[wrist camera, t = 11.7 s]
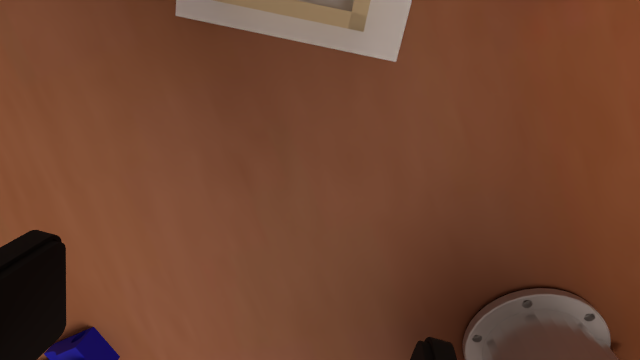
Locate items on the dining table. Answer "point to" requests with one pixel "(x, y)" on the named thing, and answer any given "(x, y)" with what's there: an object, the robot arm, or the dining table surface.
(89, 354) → the cable clip
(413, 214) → the dining table surface
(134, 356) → the dining table surface
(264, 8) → the mounting board
